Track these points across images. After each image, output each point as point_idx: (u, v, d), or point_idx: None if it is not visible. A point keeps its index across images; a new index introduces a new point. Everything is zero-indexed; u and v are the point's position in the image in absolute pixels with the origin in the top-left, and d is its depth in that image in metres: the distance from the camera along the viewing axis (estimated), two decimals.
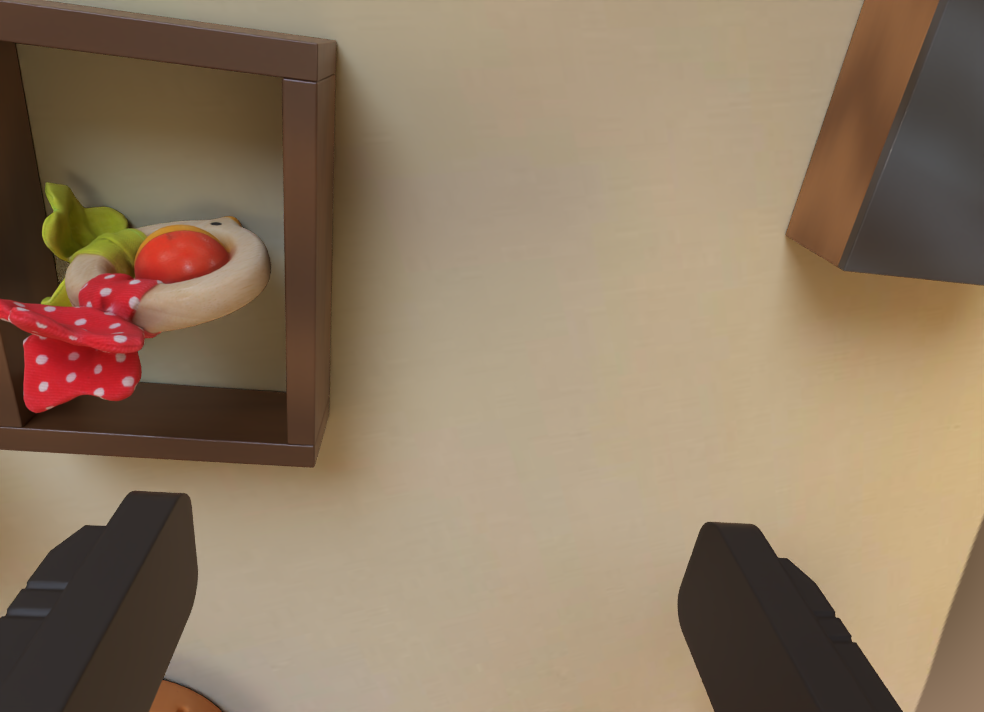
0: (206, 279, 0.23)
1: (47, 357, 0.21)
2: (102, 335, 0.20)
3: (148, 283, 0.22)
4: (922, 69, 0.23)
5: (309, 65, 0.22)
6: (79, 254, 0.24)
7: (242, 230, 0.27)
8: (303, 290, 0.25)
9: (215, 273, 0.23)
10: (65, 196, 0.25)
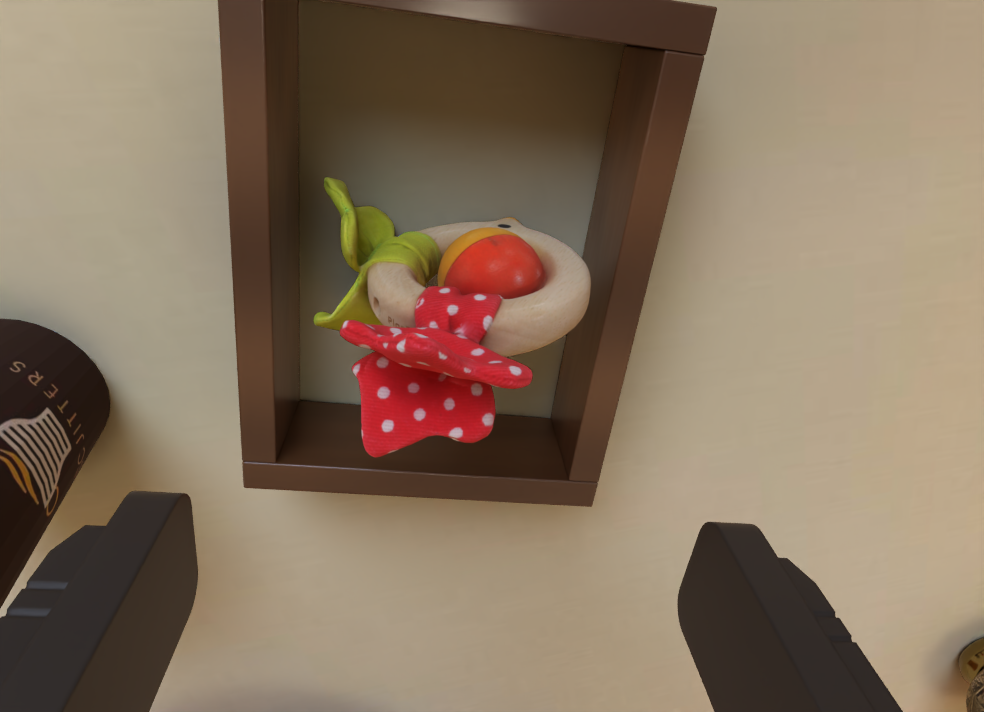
0: (552, 293, 0.19)
1: (389, 390, 0.18)
2: (496, 366, 0.16)
3: (495, 298, 0.18)
4: None
5: (701, 34, 0.18)
6: (378, 262, 0.21)
7: (540, 234, 0.23)
8: (629, 305, 0.22)
9: (556, 286, 0.20)
10: (348, 194, 0.22)
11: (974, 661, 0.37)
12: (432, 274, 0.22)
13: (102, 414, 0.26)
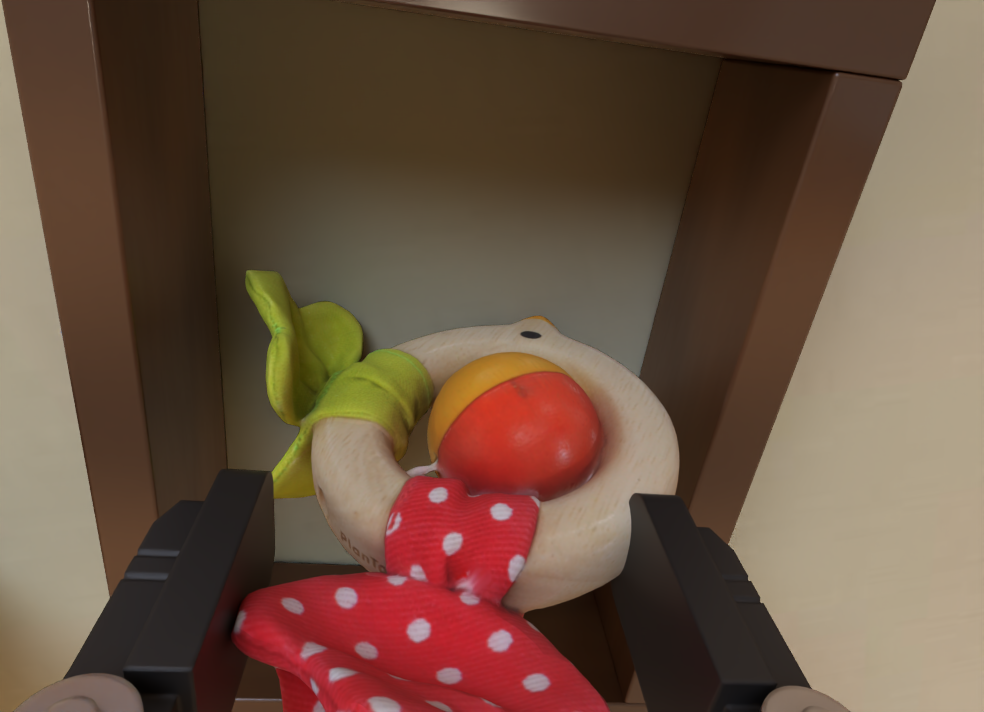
0: (625, 490, 0.11)
1: None
2: None
3: (528, 513, 0.10)
4: None
5: (903, 44, 0.10)
6: (328, 418, 0.12)
7: (588, 350, 0.15)
8: (734, 474, 0.13)
9: (629, 471, 0.11)
10: (284, 296, 0.14)
11: None
12: (420, 417, 0.14)
13: None
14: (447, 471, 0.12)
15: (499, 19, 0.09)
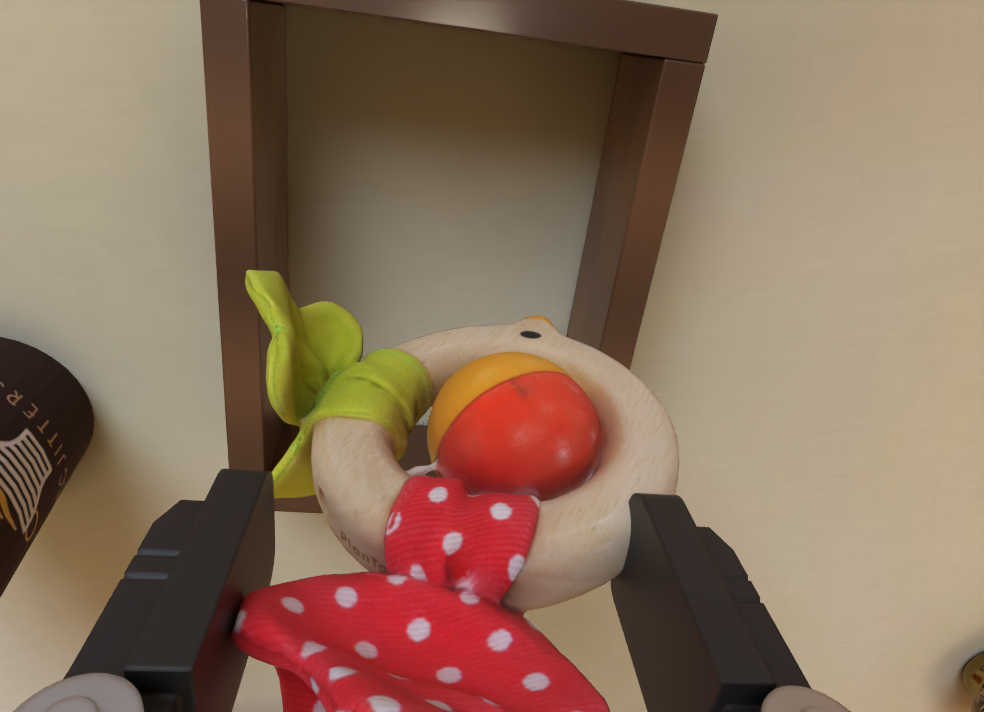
0: (624, 490, 0.11)
1: None
2: None
3: (528, 513, 0.10)
4: None
5: (701, 42, 0.17)
6: (328, 417, 0.12)
7: (588, 350, 0.15)
8: (628, 319, 0.21)
9: (628, 471, 0.11)
10: (284, 296, 0.14)
11: (978, 675, 0.36)
12: (419, 417, 0.14)
13: (85, 433, 0.25)
14: (447, 471, 0.12)
15: (471, 29, 0.17)
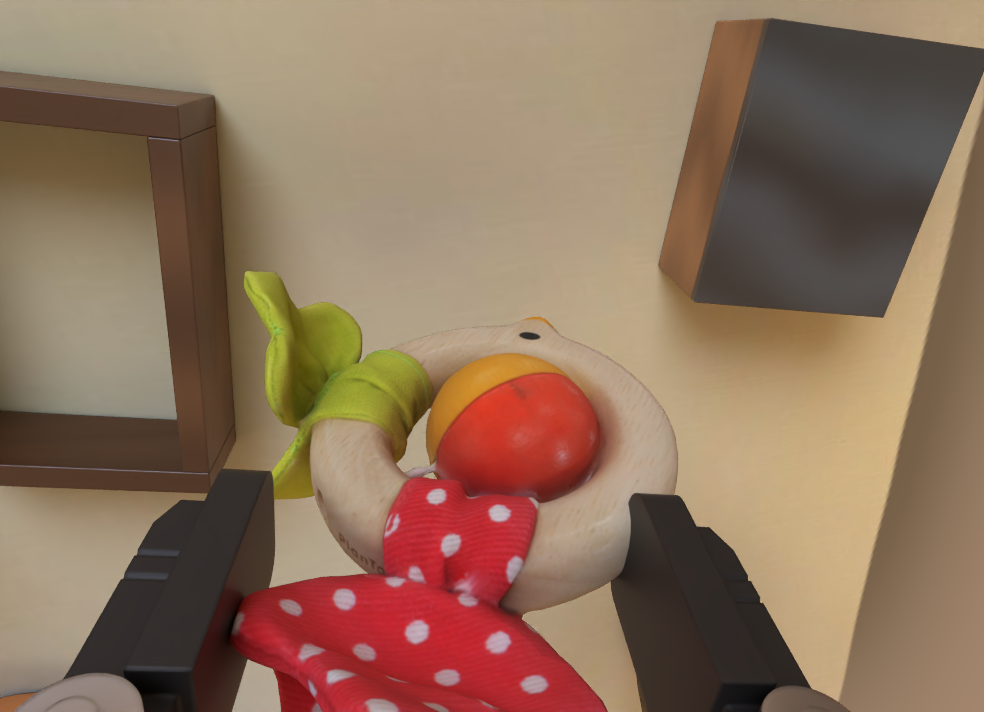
0: (623, 492, 0.11)
1: None
2: None
3: (527, 515, 0.10)
4: (745, 119, 0.25)
5: (171, 125, 0.24)
6: (327, 419, 0.12)
7: (587, 351, 0.15)
8: (184, 329, 0.27)
9: (627, 472, 0.11)
10: (283, 298, 0.14)
11: None
12: (418, 418, 0.14)
13: None
14: (446, 472, 0.12)
15: None
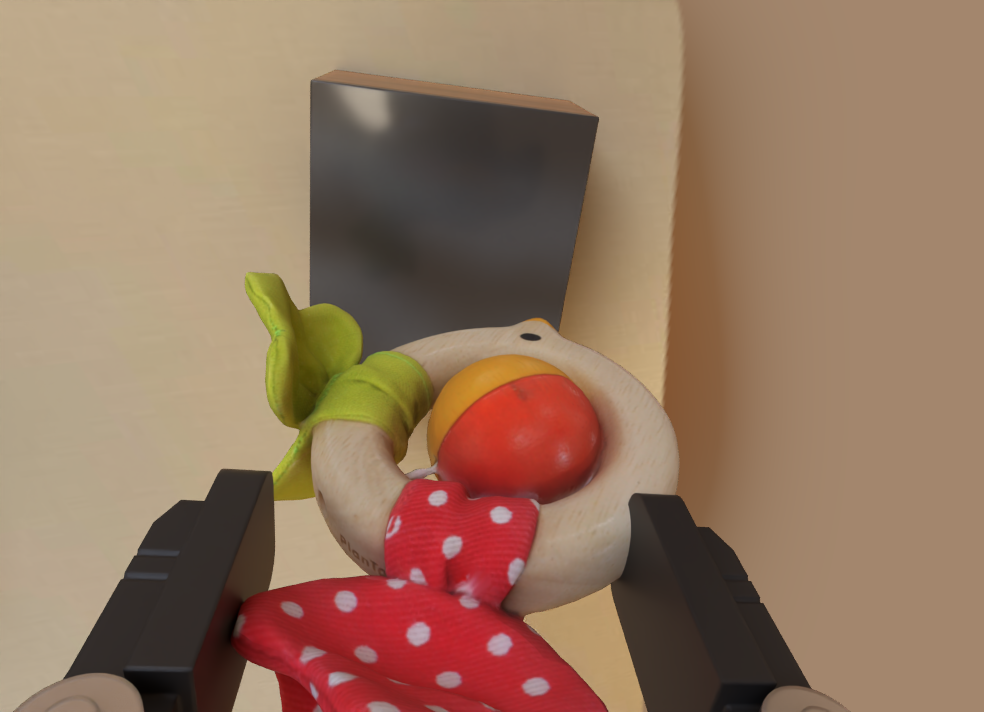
0: (624, 493, 0.11)
1: None
2: None
3: (528, 517, 0.10)
4: (313, 194, 0.21)
5: None
6: (328, 420, 0.12)
7: (588, 352, 0.15)
8: None
9: (628, 474, 0.11)
10: (284, 299, 0.13)
11: None
12: (419, 419, 0.14)
13: None
14: (447, 474, 0.12)
15: None
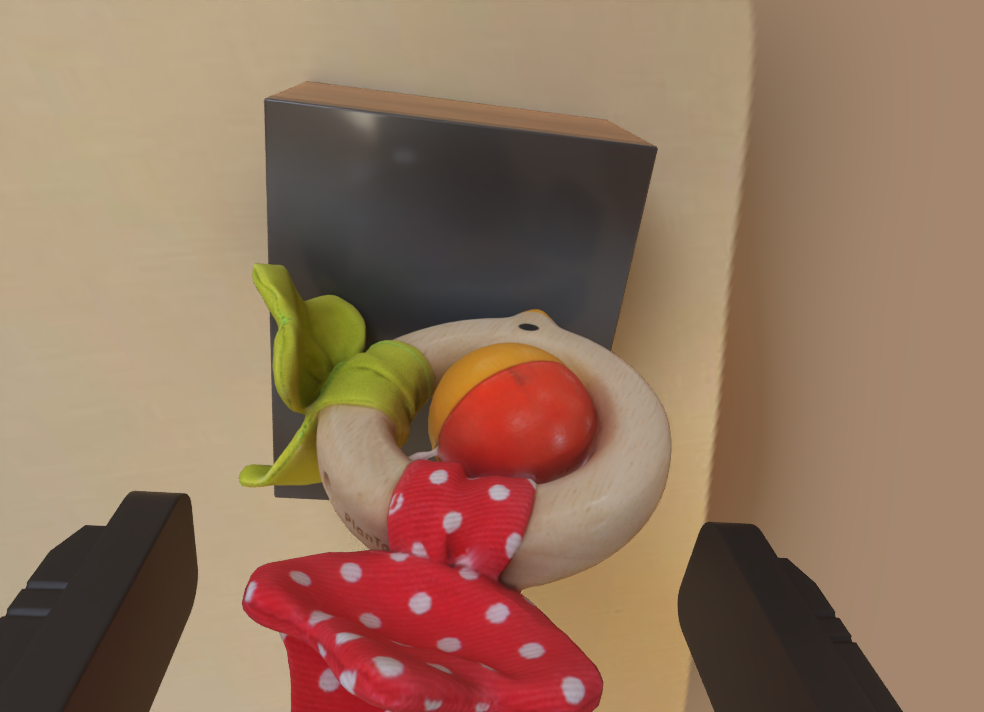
0: (618, 473, 0.12)
1: None
2: (537, 687, 0.08)
3: (524, 494, 0.11)
4: (272, 249, 0.16)
5: None
6: (333, 405, 0.13)
7: (584, 342, 0.15)
8: None
9: (622, 455, 0.12)
10: (290, 290, 0.14)
11: None
12: (421, 406, 0.15)
13: None
14: (447, 456, 0.13)
15: None
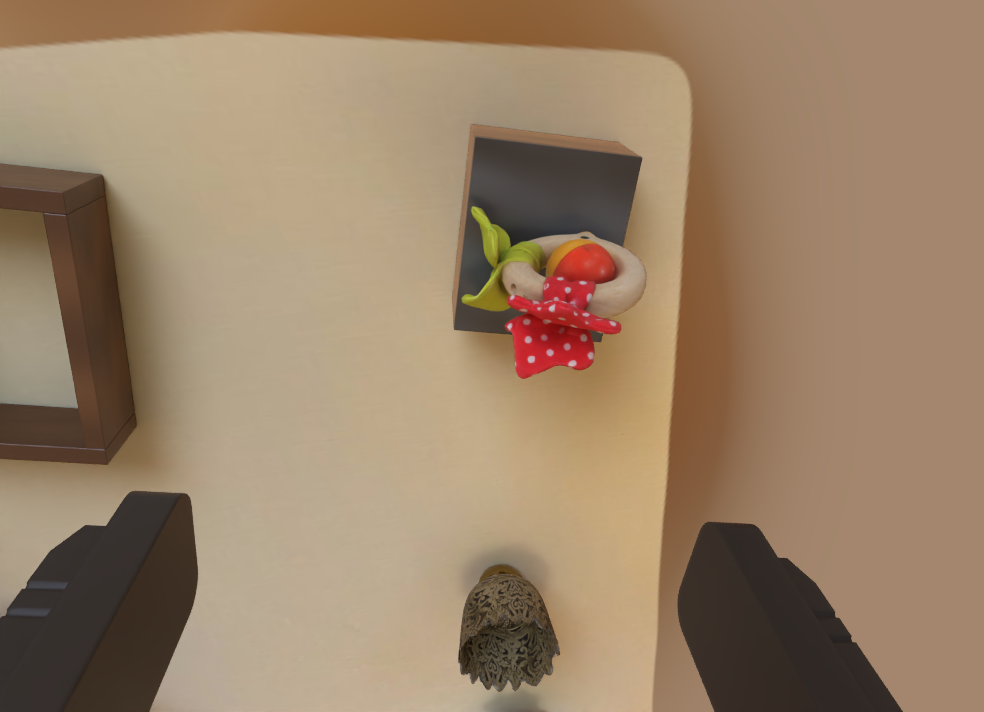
0: (625, 280, 0.31)
1: (531, 338, 0.29)
2: (602, 321, 0.28)
3: (592, 283, 0.30)
4: (469, 203, 0.35)
5: (59, 205, 0.34)
6: (510, 261, 0.32)
7: (610, 242, 0.34)
8: (79, 344, 0.37)
9: (627, 276, 0.31)
10: (487, 217, 0.33)
11: None
12: (539, 269, 0.34)
13: None
14: None
15: None
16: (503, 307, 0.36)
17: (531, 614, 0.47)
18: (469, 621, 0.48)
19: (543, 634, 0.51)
